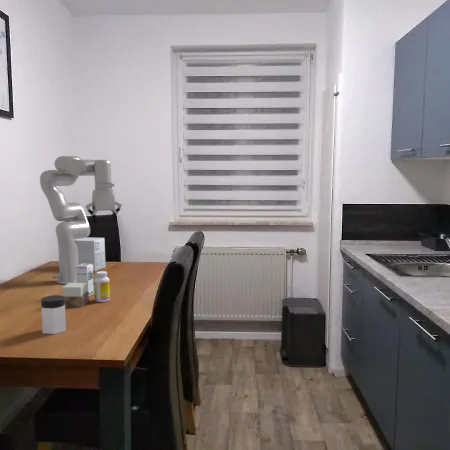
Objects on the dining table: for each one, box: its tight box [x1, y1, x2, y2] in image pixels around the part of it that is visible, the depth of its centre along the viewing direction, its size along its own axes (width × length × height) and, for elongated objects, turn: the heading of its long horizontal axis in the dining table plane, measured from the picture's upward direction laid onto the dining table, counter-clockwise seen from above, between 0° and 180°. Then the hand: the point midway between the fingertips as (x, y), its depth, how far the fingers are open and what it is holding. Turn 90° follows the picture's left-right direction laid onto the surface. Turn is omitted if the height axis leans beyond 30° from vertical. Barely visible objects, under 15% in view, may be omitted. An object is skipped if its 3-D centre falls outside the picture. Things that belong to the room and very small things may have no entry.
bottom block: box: [65, 291, 90, 308], centre depth 200 cm, size 9×9×4 cm
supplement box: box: [73, 237, 106, 272], centre depth 272 cm, size 17×13×18 cm
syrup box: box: [76, 264, 95, 297], centre depth 213 cm, size 6×6×14 cm
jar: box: [40, 294, 67, 335], centre depth 166 cm, size 9×8×12 cm
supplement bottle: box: [94, 270, 111, 303], centre depth 205 cm, size 7×7×13 cm
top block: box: [61, 283, 87, 297], centre depth 199 cm, size 8×8×4 cm
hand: (104, 222), depth 216 cm, fingers open, 9 cm apart
